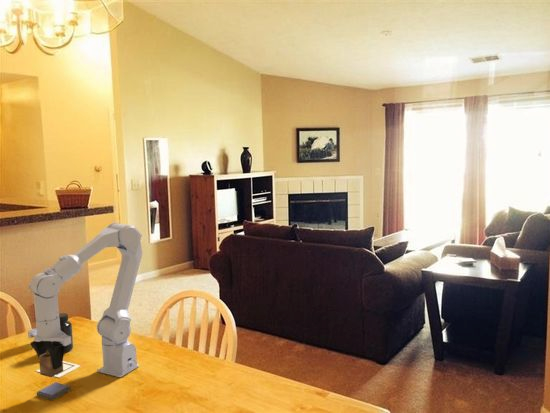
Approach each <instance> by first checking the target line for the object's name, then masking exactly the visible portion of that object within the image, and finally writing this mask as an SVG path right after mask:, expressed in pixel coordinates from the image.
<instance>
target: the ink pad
mask: <svg viewBox="0 0 550 413" xmlns="http://www.w3.org/2000/svg"><path fill="white" fill-rule="evenodd" d="M71 389H72V388H71V386H70V385H67V384H63V383H60V382H57V381H55V382H52V384H49V385H47V386H46V387H44V388H42V389H40V390H38V391H36V396H37V397H38V398H39V397H40V398H43V399H47V400H49V401H54V400H56V399H57V398H59V397H61V396H63V395H64V394H66V393H68V392H70V391H72V390H71Z"/></svg>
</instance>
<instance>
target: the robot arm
mask: <svg viewBox="0 0 550 413" xmlns="http://www.w3.org/2000/svg"><path fill="white" fill-rule="evenodd" d="M141 238H142V234H141V232H140V230H139V229H138V228H137V227H136V226H134V225H132V224H123V223H119V222H112V223H110V224H109V225H108V226H106V227H104V228H101V231H99V233H98V234H96V236H95V237H93V238H92V239H91V240H90V241H88V242H87V243H86V244H85V245H84V246H82V248H81V249H79V250H78V251H76V252H75V253H74V254H65V255H61V256H60V257H59V258H58V261H57V262H56V263H54V264H53V265H51V266H50V267H49V268H48V267H46V268H45V269H44V270H43V271H44V272H40V273H37V274H36V275H34V276H33V277H32V278H31V281H30V282H29V285H28V288H29V290H30V291H31V293H33V306H34V314H35V326H36V328H31V329H30V330H27V336H28V337H27V338H29V339H32V338H33V341H31V342H30V346H31V348H33V349H34V351H35V353H36V356H37V357H38V358H39V356H40V355H42V354H44V353H46V350H48V351H49V353H50V356H51V360H52V366H53V369H57V368H59V367H61V366H62V361H64V356H65V354H66V353H65V350H66V348H67V346H68V345H69V344H71V336H68V335H66V334H65V333H63V332H62V331H61V330H60V319H59V313H60V310H59V300H58V293H59V292H60V291H61V287H62V286H63V285H64V284H65V283H67V282H68V281H69V280H71V279H72V278H73V277H74V276H76V275H77V274H78V273H80V272H81V270H82V268H83V264H84V263H86V262H87V261H88V260H90V259H91V258H93V257H95V256H97V254H98V253H101V251H103V250H104V249H106V248H115V247H116V248H117V249H118V251H119V252H120V254H121V255H122V257H121V262H120V265H119V269H118V273H117V276H116V280H115V284H114V288H113V291H112V295H111V299H110V303H109V306H108V307H107V308H106V309H105V310H104V311H103V313H102V316H101V318H100V320H98V323H97V325H96V331H97V333H98V334H99V335H100V336H101V349H102V363H103V364H102V365H103V366H102V367H100V368H98V369H97V371H96V372H97V373H102V374H104V375H110V376H113V377H117V378H122V377H124V376H125V375H128V374H129V373H131V372H132V371H134V370H135V369H137V368H139V366H140V365H139V364H138V360H137V347H136V345H135V344H134V343H132V342H131V341H129V339H128V338H129V337H130V336H131V331H132V330H131V320H132V318H131V315H130V313H129V307H130V304H131V303H130V302H131V300H132V296H133V291H134V288H135V285H136V280H137V276H138V274H139V273H138V272H139V268H140V265H141V261H142V258H143V257H142V256H143V247H142V243H141V240H142V239H141ZM52 342H53V344H51V343H52Z"/></svg>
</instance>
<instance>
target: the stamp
mask: <svg viewBox="0 0 550 413" xmlns="http://www.w3.org/2000/svg"><path fill="white" fill-rule="evenodd" d="M38 360H39V369H40V372H39V374H40V375H41V376H44V377H49V378H53V377H54V375H56V374H58V373H60V372H62V371H63V361H64V360H63V361H62V366H61V367H59V368H57V369H53V366H52V360H51V356H50V353H49V351H48V350H46V353H44V354H42V355H40V356H39V357H38Z"/></svg>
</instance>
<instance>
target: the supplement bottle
mask: <svg viewBox="0 0 550 413" xmlns="http://www.w3.org/2000/svg"><path fill="white" fill-rule="evenodd" d="M68 314H69V313H66V312H65V313H64V312H62V313H61V312H59V319H60V330H61V331H62V332H63V333H65V334H66V335H68V336H71V344H69V345H68V346H67V348H66V350H65V353H64V354H66V353H69V352H70V351H72V350H73V349H74V340H73V339H74V337H73V335H74V334H73V324H72V322H71V321H69V315H68ZM51 344H53V342H52V343H51Z"/></svg>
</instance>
